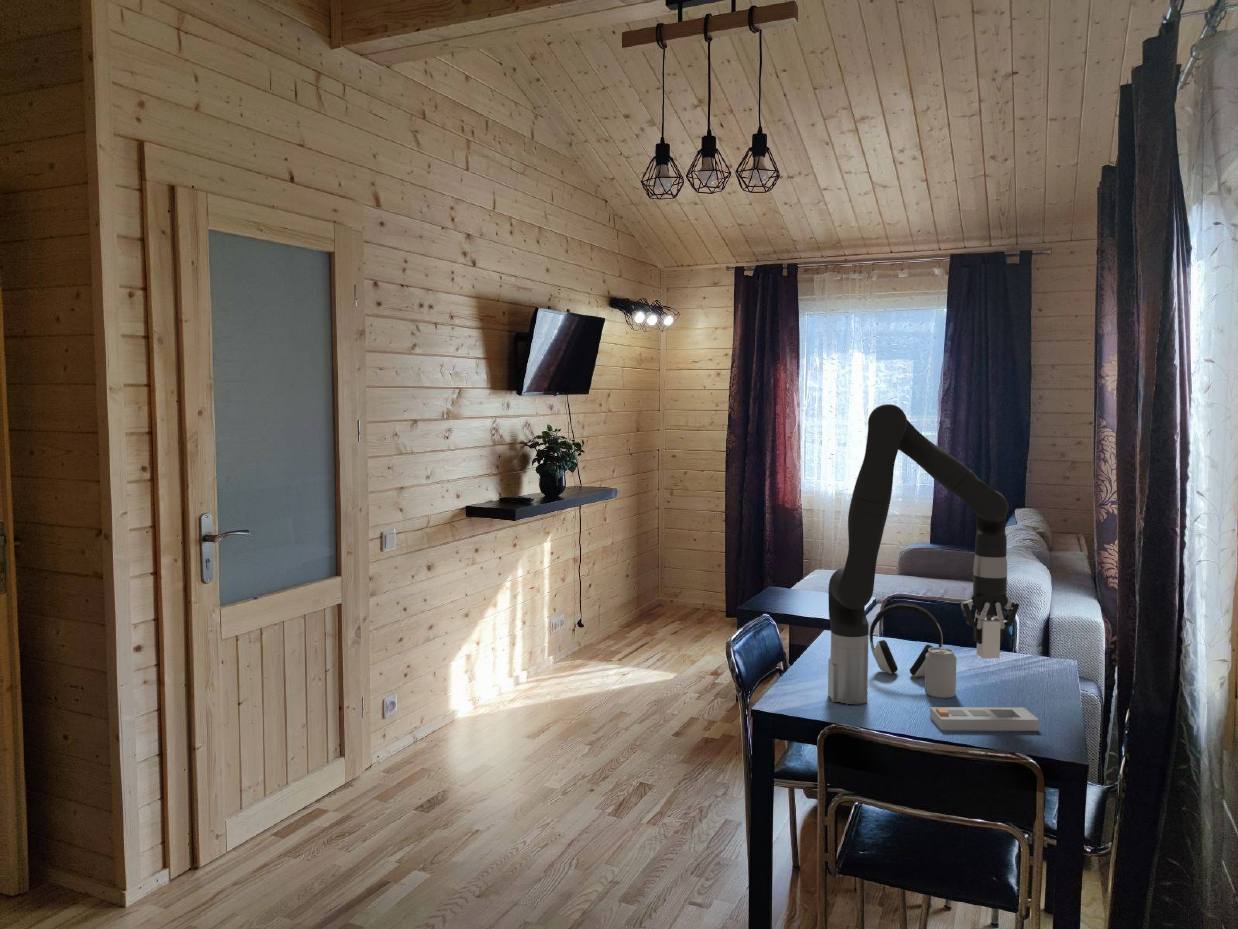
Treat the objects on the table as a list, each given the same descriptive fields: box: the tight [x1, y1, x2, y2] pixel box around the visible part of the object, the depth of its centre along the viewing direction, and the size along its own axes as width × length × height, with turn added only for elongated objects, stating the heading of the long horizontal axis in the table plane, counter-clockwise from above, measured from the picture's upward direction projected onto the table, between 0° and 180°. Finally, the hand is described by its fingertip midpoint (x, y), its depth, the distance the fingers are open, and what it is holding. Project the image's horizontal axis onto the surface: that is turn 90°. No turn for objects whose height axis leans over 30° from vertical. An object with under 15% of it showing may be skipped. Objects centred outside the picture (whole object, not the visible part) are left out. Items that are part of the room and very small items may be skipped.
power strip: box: [929, 706, 1040, 732], centre depth 209 cm, size 22×8×4 cm, turn 89°
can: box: [924, 646, 957, 699], centre depth 229 cm, size 8×8×12 cm
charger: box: [976, 615, 1001, 659], centre depth 218 cm, size 4×4×11 cm
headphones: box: [868, 602, 944, 678], centre depth 246 cm, size 19×8×20 cm, turn 68°
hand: (988, 642), depth 218 cm, fingers closed on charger, 4 cm apart
